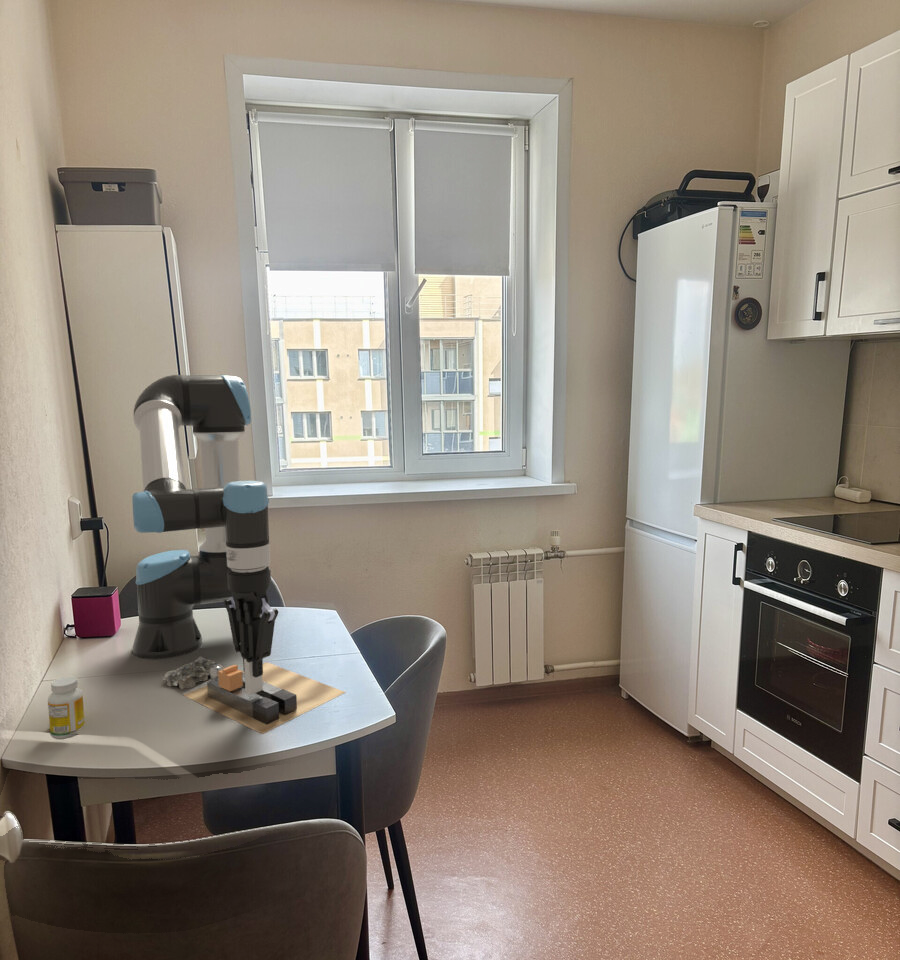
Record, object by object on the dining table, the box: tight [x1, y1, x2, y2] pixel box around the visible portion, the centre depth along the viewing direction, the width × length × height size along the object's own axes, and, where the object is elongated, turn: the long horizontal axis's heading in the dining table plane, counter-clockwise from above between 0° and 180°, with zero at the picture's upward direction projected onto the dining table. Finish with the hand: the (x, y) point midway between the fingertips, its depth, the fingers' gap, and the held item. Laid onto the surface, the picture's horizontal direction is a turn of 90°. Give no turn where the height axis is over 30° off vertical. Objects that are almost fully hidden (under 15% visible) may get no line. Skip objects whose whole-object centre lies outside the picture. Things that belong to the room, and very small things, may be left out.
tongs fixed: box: [206, 664, 279, 725], centre depth 123 cm, size 22×5×4 cm, turn 53°
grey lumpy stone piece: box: [162, 656, 218, 690], centre depth 135 cm, size 11×8×4 cm
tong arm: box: [241, 671, 297, 715], centre depth 125 cm, size 18×3×3 cm, turn 52°
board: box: [182, 661, 346, 735], centre depth 128 cm, size 25×20×1 cm
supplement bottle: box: [47, 676, 85, 740], centre depth 115 cm, size 5×5×10 cm
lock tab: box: [218, 664, 243, 691], centre depth 123 cm, size 4×3×4 cm
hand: (254, 691), depth 119 cm, fingers closed
